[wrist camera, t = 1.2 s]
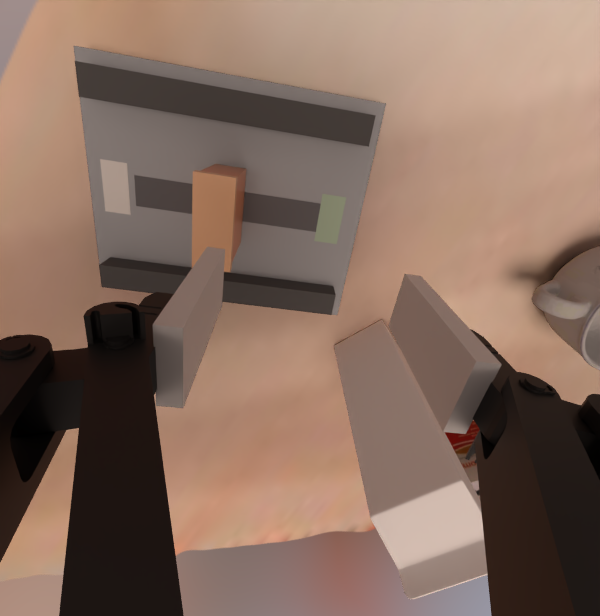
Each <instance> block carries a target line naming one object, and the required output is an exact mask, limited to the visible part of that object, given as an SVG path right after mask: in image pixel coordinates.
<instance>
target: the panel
mask: <svg viewBox="0 0 600 616" xmlns="http://www.w3.org/2000/svg"><path fill="white" fill-rule="evenodd" d="M74 53H75V61H79V62H84V63H90V64H95V65H101V66H106V67H112V68H117V69H123V70H128V71H134V72H139V73H145V74H150V75H156V76H161V77H167V78H172V79H178V80H183V81H189V82H194V83H200V84H205V85H211V86H216V87H222V88H227V89H233V90H239V91H244V92H250V93H255V94H261V95H266V96H272V97H277V98H283V99H288V100H294V101H299V102H305V103H310V104H316V105H321V106H327V107H332V108H338V109H343V110H349V111H354V112H360V113H365V114H371V115H376V117H375V121H374V126H373V130H372V135H371V139H370V144H369V147H368V146H362V145H356V144H350V143H345V142H339V141H333V140H327V139H321V138H316V137H310V136H304V135H298V134H292V133H287V132H281V131H275V130H269V129H263V128H257V127H252V126H246V125H240V124H234V123H228V122H223V121H217V120H211V119H205V118H199V117H194V116H188V115H182V114H176V113H170V112H164V111H159V110H153V109H147V108H141V107H135V106H130V105H124V104H118V103H112V102H106V101H101V100H95V99H89V98H83V97H80V104H81V112H82V121H83V129H84V138H85V146H86V155H87V163H88V171H89V180H90V188H91V197H92V205H93V214H94V222H95V231H96V239H97V247H98V256H99V264H101V263H103V262H104V261H105V260H107V259H108V258H110V257H114V258H122V259H129V260H137V261H145V262H152V263H160V264H168V265H175V266H183V267H191V268H192V186H193V171H195V170H199V171H201V170H203V169H205V168H207V167H210V166H212V165H214V164H220V165H226V166H232V167H239V168H245V169H246V181H245V194H244V207H243V220H242V233H241V243H240V245H239V248H238V250H237V252H236V255H235V257H234V260H233V262H232V269H231V271H230V272H229V273H237V274H245V275H252V276H260V277H268V278H275V279H283V280H291V281H298V282H306V283H314V284H321V285H329V286H333V287H334V290H335V294H336V297H335V301H334V306H333V310H332V315H337V314H338V310H339V306H340V301H341V297H342V293H343V288H344V284H345V280H346V275H347V271H348V266H349V262H350V258H351V253H352V249H353V245H354V240H355V236H356V232H357V227H358V223H359V219H360V214H361V210H362V206H363V201H364V197H365V193H366V188H367V184H368V180H369V175H370V171H371V167H372V162H373V158H374V154H375V149H376V145H377V141H378V136H379V132H380V128H381V123H382V119H383V115H384V110H385V106H386V103H380V102H375V101H369V100H364V99H359V98H353V97H348V96H342V95H337V94H332V93H326V92H321V91H315V90H310V89H305V88H299V87H294V86H289V85H283V84H278V83H272V82H267V81H262V80H256V79H251V78H245V77H240V76H235V75H229V74H224V73H218V72H213V71H208V70H202V69H197V68H192V67H186V66H181V65H175V64H170V63H165V62H159V61H154V60H148V59H143V58H138V57H132V56H127V55H122V54H116V53H111V52H105V51H100V50H95V49H89V48H84V47H78V46H74Z"/></svg>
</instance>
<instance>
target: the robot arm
mask: <svg viewBox="0 0 600 616" xmlns="http://www.w3.org/2000/svg"><path fill="white" fill-rule="evenodd" d="M224 262H225V249H220V248H213V247H207V248H206V249H205V251H204V252H203V253H202V255H201V256H200V258H199V259H198V261H197V262H196V263H195V265H194V266H193V268H192V269H191V270H190V272H189V273H188V275H187V276H186V278H185V279H184V280H183V282H182V283H181V285H180V286H179V288H178V289H177V290H176V292H175V293H174V294H170V293H162V292H155V293H153V294H151V295H149V296H147V297H145V298H144V299H143V301H142V302H141V303H140V304H139V306H138V305H136V304H133V303H128V302H109V303H103V304H100V305H97V306H94V307H92V308H91V309H89V310H87V311H86V313H85V315H84V322H85V328H86V335H87V342H88V348H82V349H74V350H60V351H53V350H52V345H51V343H50V341H49V339H47V338H45V337H42V336H38V335H16V336H13V337H11V336H10V337H7V338H4V339H1V340H0V562H1V560H2V558H3V556H4V554H5V552H6V550H7V548H8V546H9V544H10V542H11V540H12V538H13V536H14V534H15V532H16V530H17V528H18V526H19V524H20V522H21V520H22V518H23V516H24V514H25V512H26V510H27V508H28V506H29V504H30V502H31V500H32V498H33V496H34V494H35V492H36V490H37V488H38V486H39V484H40V482H41V480H42V478H43V476H44V474H45V472H46V470H47V468H48V466H49V464H50V462H51V460H52V458H53V456H54V454H55V452H56V450H57V448H58V446H59V444H60V442H61V440H62V438H63V436H64V434H65V432H66V430H68V429H74V428H79V434H78V444H77V453H76V463H75V472H74V481H73V491H72V500H71V510H70V519H69V528H68V538H67V547H66V557H65V566H64V575H63V585H62V594H61V604H60V614H59V616H183V608H182V601H181V593H180V586H179V579H178V571H177V564H176V556H175V549H174V542H173V534H172V527H171V519H170V512H169V505H168V497H167V490H166V482H165V475H164V468H163V460H162V453H161V445H160V438H159V431H158V423H157V416H156V408H155V401H154V394H155V392H156V406H165V407H176V408H183V407H184V405H185V402H186V399H187V397H188V394H189V391H190V389H191V386H192V384H193V381H194V378H195V376H196V373H197V370H198V368H199V365H200V362H201V360H202V357H203V355H204V352H205V349H206V347H207V344H208V341H209V339H210V336H211V333H212V331H213V328H214V326H215V323H216V320H217V318H218V315H219V312H220V310H221V307H222V297H223V279H224ZM389 328H390V330H391V332H392V334H393V336H394V338H395V340H396V342H397V344H398V345H399V347H400V349H401V351H402V353H403V355H404V357H405V359H406V361H407V363H408V365H409V367H410V369H411V371H412V373H413V375H414V377H415V378H416V380H417V382H418V384H419V386H420V388H421V390H422V392H423V394H424V396H425V398H426V400H427V402H428V404H429V406H430V408H431V410H432V412H433V413H434V415H435V417H436V419H437V421H438V423H439V425H440V427H441V429H442V431H443V432H449V433H460V434H466V433H467V431H468V429H469V427H470V425H471V423H472V421H473V420H474V421H475V423H476V424H477V426H478V427H479V429H480V430H479V432H478V434H477V435H476V437H475V439H474V441H473V443H472V445H471V447H470V448H469V450H468V452H467V454H466V458H465V459H467V460H469V459H470V458H471V456H472V455H473V454H476V460H475V463H477V472H478V482H479V492H480V502H481V512H482V523H483V533H484V543H485V553H486V563H487V574H488V583H489V594H490V604H491V613H492V616H600V395H599V394H591V395H589V396H588V397H587V398H586V400H585V401H584V402H583V404H582V405H577V404H574V403H571V402H567V401H564V400H561V398H560V396H559V394H558V393H557V392H556V390H555V389H554V388H553V387H552V386H550V385H549V384H548V383H546V382H544V381H543V380H541V379H539V378H537V377H534V376H532V375H529V374H526V373H521V372H516V371H515V370H514V369H513V368H512V367H511V366H510V365H509V363H508V362H507V361H506V360H505V359H504V358H503V357H502V356H501V355H500V354H498V352H497V351H496V350H495V349H494V348H493V347H492V346H491V344H490V343H489V342H488V341H487V340H486V339H485V338H484V337H482V336H481V335H479V334H478V333H476V332H475V331H473V330H471V329H469V328H468V327H467V326H466V325H465V324H464V322H463V321H462V320H461V319H460V318H459V317H458V316H457V315H456V314H455V313H454V312H453V310H452V309H451V308H450V307H449V306H448V305H447V304H446V303H445V302H444V301H443V300H442V298H441V297H440V296H439V295H438V294H437V293H436V292H435V291H434V290H433V289H432V288H431V286H430V285H429V284H428V283H427V282H426V281H425V280H424V279H423V278H422V277H421V276H417V275H409V274H405V275H404V278H403V281H402V285H401V288H400V291H399V294H398V297H397V301H396V304H395V307H394V310H393V313H392V317H391V320H390V323H389Z"/></svg>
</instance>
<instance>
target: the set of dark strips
mask: <svg viewBox="0 0 600 616" xmlns="http://www.w3.org/2000/svg"><path fill="white" fill-rule="evenodd" d="M75 66H76V74H77V83H78V91H79V97H83V98H89V99H95V100H101V101H106V102H112V103H118V104H124V105H130V106H135V107H141V108H147V109H153V110H159V111H164V112H170V113H176V114H182V115H188V116H194V117H199V118H205V119H211V120H217V121H223V122H228V123H234V124H240V125H246V126H252V127H257V128H263V129H269V130H275V131H281V132H287V133H292V134H298V135H304V136H310V137H316V138H321V139H327V140H333V141H339V142H345V143H350V144H356V145H362V146H368V147H369V144H370V139H371V135H372V130H373V126H374V121H375V117H376V115H371V114H365V113H360V112H354V111H349V110H343V109H338V108H332V107H327V106H321V105H316V104H310V103H305V102H299V101H294V100H288V99H283V98H277V97H272V96H266V95H261V94H255V93H250V92H244V91H239V90H233V89H227V88H222V87H216V86H211V85H205V84H200V83H194V82H189V81H183V80H178V79H172V78H167V77H161V76H156V75H150V74H145V73H139V72H134V71H128V70H123V69H117V68H112V67H106V66H101V65H95V64H90V63H84V62H79V61H75ZM99 268H100V276H101V284H102V287H107V288H115V289H123V290H131V291H139V292H148V293H155V292H162V293H170V294H174V293H175V292H176V290H177V289H178V288H179V286H180V285H181V283H182V282H183V280H184V279H185V278H186V276H187V275H188V273H189V272H190V270H191V269H192V268H191V267H183V266H175V265H168V264H160V263H152V262H145V261H137V260H129V259H122V258H114V257H110V258H108V259H107V260H105V261H104V262H103V263H101V264H100V265H99ZM335 297H336V294H335V290H334V287H333V286H329V285H321V284H314V283H306V282H298V281H291V280H283V279H275V278H268V277H260V276H252V275H245V274H237V273H229V272H224V279H223V297H222V302H230V303H238V304H246V305H254V306H263V307H271V308H279V309H287V310H296V311H304V312H312V313H320V314H328V315H332V310H333V306H334V301H335Z"/></svg>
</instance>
